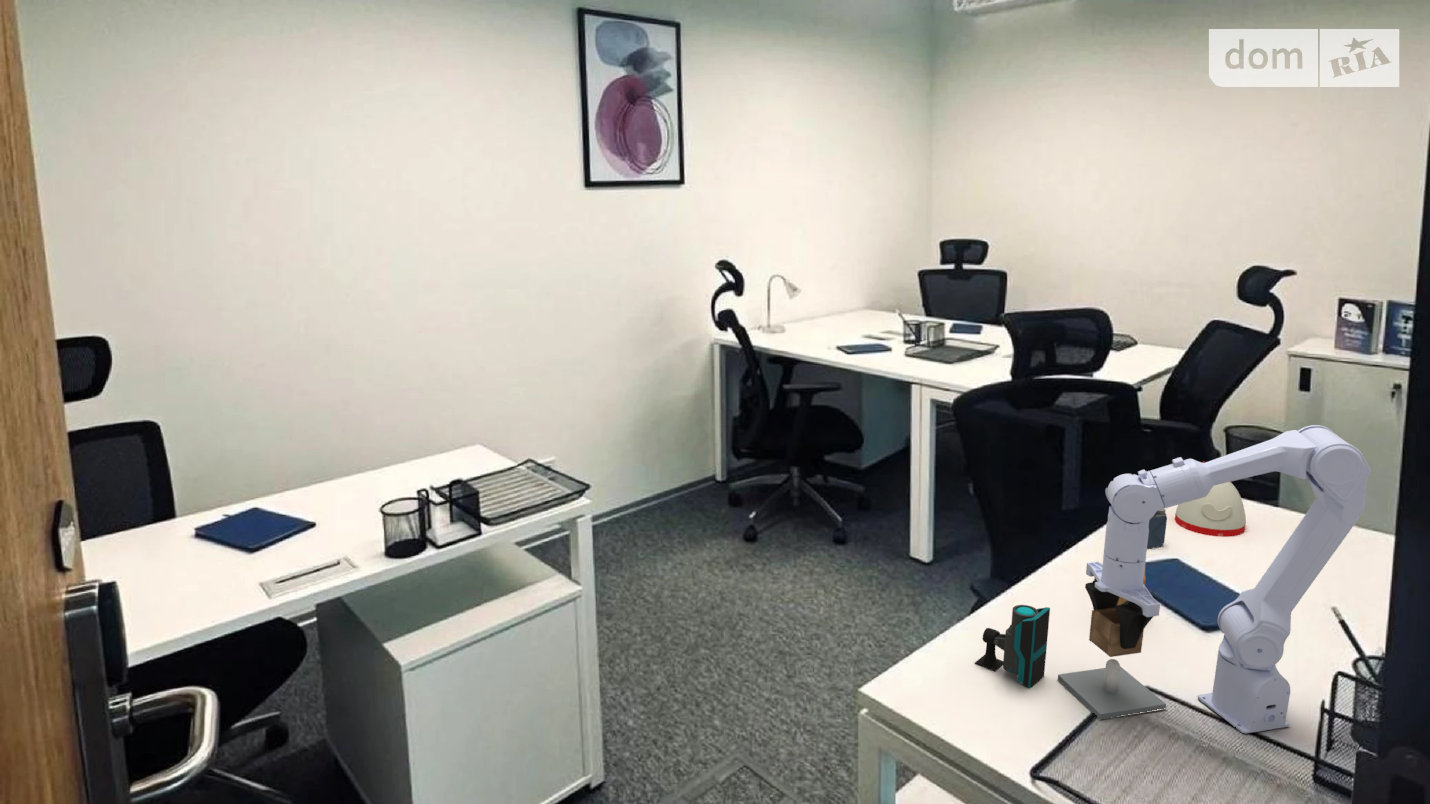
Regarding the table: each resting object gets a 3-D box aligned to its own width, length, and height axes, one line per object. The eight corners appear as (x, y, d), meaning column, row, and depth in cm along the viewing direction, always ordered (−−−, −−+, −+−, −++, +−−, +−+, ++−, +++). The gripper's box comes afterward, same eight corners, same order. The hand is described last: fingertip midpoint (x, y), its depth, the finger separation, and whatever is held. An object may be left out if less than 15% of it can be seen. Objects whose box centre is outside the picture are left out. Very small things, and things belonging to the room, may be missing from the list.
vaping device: (1137, 545, 193) (1143, 492, 190) (1157, 541, 194) (1163, 489, 191) (1146, 549, 191) (1152, 496, 188) (1166, 546, 192) (1172, 493, 189)
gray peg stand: (1165, 709, 135) (1169, 674, 134) (1099, 720, 133) (1103, 684, 132) (1119, 671, 146) (1122, 637, 144) (1057, 680, 144) (1060, 646, 142)
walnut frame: (1141, 652, 135) (1144, 622, 134) (1110, 657, 134) (1113, 626, 133) (1118, 635, 140) (1122, 606, 139) (1089, 639, 139) (1092, 610, 138)
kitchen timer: (1170, 510, 212) (1178, 449, 208) (1237, 516, 207) (1245, 454, 204) (1180, 533, 199) (1188, 468, 195) (1250, 540, 195) (1260, 474, 191)
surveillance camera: (992, 587, 149) (1051, 607, 142) (988, 653, 152) (1045, 675, 145) (975, 599, 145) (1035, 620, 138) (971, 666, 148) (1029, 689, 141)
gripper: (1071, 538, 140) (1064, 618, 143) (1132, 579, 126) (1122, 665, 129) (1112, 534, 141) (1104, 612, 144) (1176, 573, 127) (1166, 659, 131)
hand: (1115, 637), depth 137 cm, fingers closed on walnut frame, 5 cm apart
